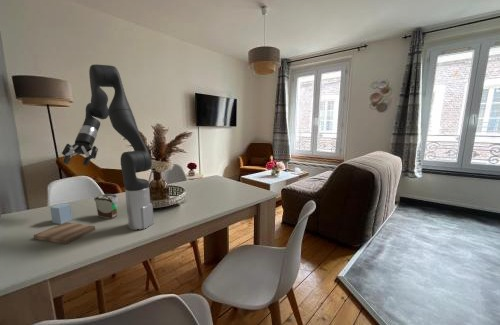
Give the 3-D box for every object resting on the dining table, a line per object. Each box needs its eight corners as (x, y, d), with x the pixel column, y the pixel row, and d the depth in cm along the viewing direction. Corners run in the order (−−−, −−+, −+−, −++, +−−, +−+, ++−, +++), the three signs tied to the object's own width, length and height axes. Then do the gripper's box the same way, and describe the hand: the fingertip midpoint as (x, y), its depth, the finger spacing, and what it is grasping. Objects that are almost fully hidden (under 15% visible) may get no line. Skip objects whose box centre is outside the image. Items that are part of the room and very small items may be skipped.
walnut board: (95, 229, 94) (94, 226, 93) (65, 244, 82) (65, 240, 82) (66, 225, 97) (65, 222, 97) (34, 238, 86) (33, 235, 86)
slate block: (72, 219, 103) (70, 204, 102) (61, 224, 99) (58, 208, 97) (64, 218, 105) (61, 203, 103) (52, 222, 100) (50, 207, 99)
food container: (125, 214, 109) (124, 195, 108) (114, 219, 104) (112, 199, 102) (107, 211, 113) (105, 192, 112) (96, 215, 108) (93, 196, 106)
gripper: (67, 131, 109) (54, 159, 102) (98, 133, 111) (86, 162, 104) (76, 139, 116) (64, 166, 109) (104, 141, 118) (94, 168, 110)
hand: (75, 164), depth 106 cm, fingers open, 8 cm apart
